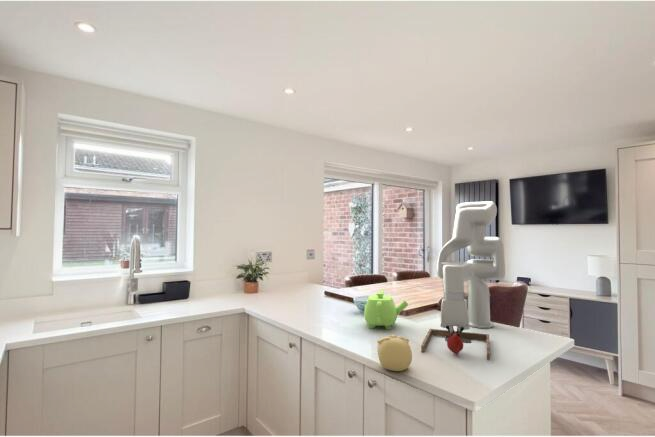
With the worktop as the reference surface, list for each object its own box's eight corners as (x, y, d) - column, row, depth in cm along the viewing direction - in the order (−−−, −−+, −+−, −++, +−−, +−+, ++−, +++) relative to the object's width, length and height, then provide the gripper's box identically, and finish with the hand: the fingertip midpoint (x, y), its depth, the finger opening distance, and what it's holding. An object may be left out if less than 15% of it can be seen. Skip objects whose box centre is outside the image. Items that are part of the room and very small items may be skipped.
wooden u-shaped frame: (429, 334, 155) (429, 328, 155) (489, 340, 145) (489, 334, 145) (421, 351, 134) (421, 345, 134) (490, 360, 124) (489, 353, 124)
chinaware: (349, 310, 202) (348, 297, 202) (371, 307, 208) (370, 294, 208) (362, 316, 188) (361, 302, 188) (385, 313, 194) (384, 299, 195)
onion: (444, 354, 130) (444, 333, 131) (450, 350, 135) (450, 329, 135) (460, 358, 127) (459, 336, 127) (466, 353, 131) (465, 332, 131)
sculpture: (406, 360, 126) (406, 330, 126) (416, 374, 114) (415, 341, 114) (375, 361, 126) (374, 331, 126) (381, 375, 114) (381, 342, 114)
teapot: (409, 333, 157) (408, 297, 158) (362, 331, 162) (361, 297, 162) (408, 318, 182) (407, 288, 182) (367, 317, 186) (366, 287, 187)
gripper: (475, 295, 135) (476, 342, 135) (435, 293, 142) (436, 338, 141) (474, 299, 129) (476, 349, 128) (432, 296, 135) (434, 344, 135)
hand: (455, 343), depth 135 cm, fingers closed
